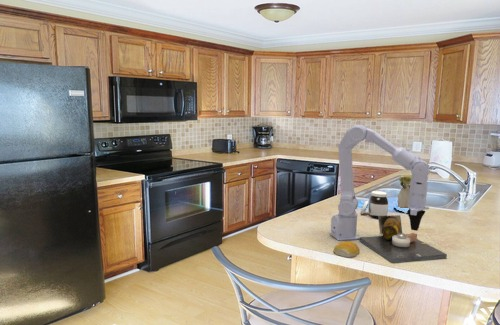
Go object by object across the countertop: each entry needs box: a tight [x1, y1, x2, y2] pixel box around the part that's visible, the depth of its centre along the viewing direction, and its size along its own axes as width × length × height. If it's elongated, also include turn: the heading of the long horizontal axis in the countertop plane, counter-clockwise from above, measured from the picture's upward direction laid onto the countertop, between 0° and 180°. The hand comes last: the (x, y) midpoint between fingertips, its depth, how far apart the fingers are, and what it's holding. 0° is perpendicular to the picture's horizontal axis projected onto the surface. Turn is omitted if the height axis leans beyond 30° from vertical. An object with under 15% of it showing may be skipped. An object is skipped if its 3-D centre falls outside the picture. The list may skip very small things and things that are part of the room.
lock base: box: [358, 232, 448, 264], centre depth 135 cm, size 21×21×6 cm
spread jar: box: [360, 190, 389, 219], centre depth 177 cm, size 12×11×12 cm
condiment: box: [378, 214, 403, 240], centre depth 144 cm, size 7×8×12 cm
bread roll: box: [333, 240, 360, 258], centre depth 131 cm, size 8×9×4 cm
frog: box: [397, 174, 412, 212], centre depth 187 cm, size 12×13×18 cm
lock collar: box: [392, 232, 418, 247], centre depth 137 cm, size 12×6×2 cm, turn 126°
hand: (414, 229), depth 137 cm, fingers closed
